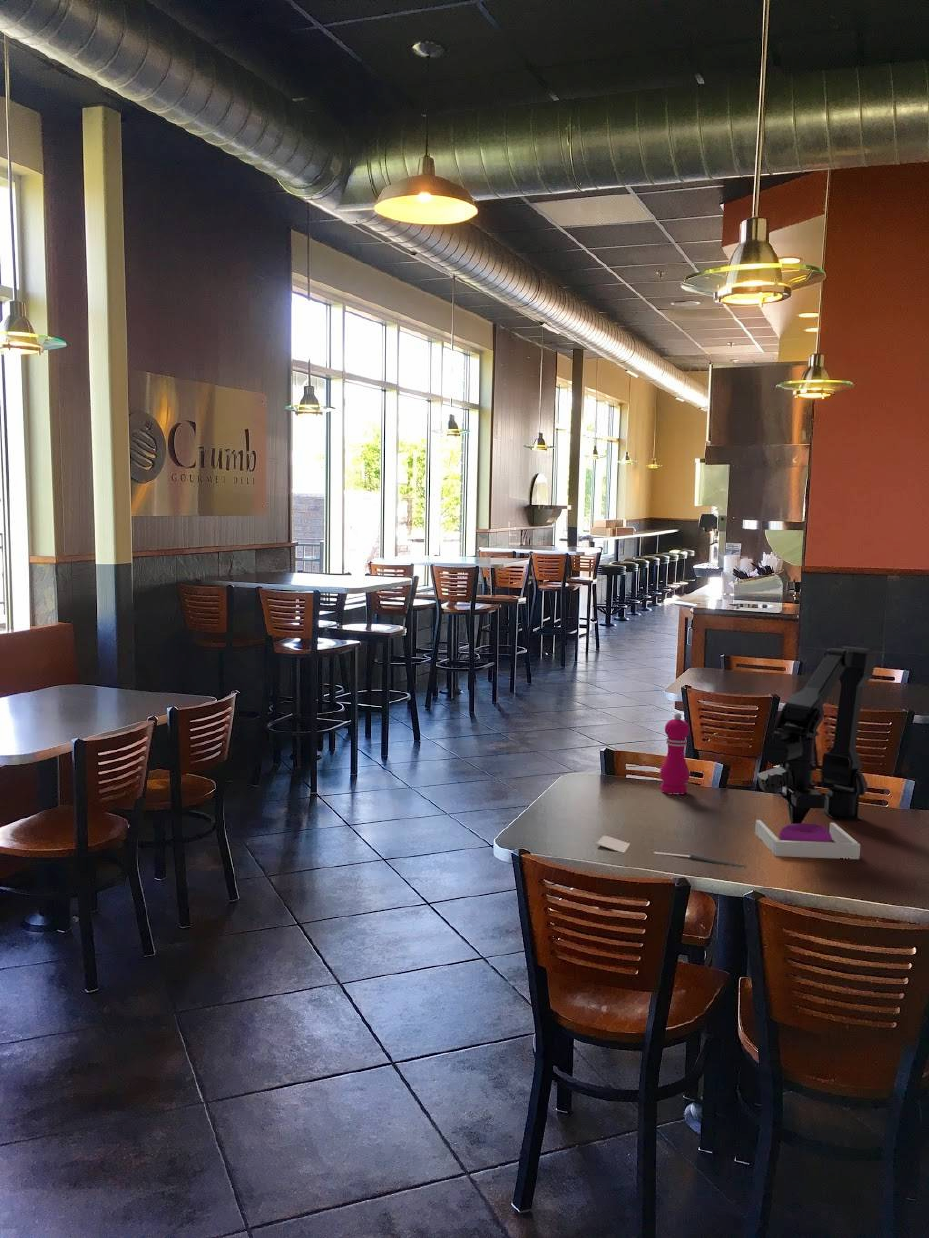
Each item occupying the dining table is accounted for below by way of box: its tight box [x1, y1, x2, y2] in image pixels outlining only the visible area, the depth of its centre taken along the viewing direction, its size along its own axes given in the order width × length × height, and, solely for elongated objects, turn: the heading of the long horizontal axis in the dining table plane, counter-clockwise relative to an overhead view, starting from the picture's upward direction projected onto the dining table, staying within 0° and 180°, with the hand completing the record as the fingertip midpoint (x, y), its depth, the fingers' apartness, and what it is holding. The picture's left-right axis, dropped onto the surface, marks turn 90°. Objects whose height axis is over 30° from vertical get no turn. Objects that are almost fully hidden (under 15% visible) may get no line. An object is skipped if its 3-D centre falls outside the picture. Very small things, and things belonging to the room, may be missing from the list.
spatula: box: [596, 835, 747, 868], centre depth 195 cm, size 6×29×2 cm, turn 67°
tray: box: [754, 819, 861, 860], centre depth 203 cm, size 17×14×3 cm
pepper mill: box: [659, 712, 690, 794], centre depth 241 cm, size 7×7×20 cm
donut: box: [779, 823, 833, 842], centre depth 202 cm, size 10×10×5 cm
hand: (794, 828), depth 211 cm, fingers closed
